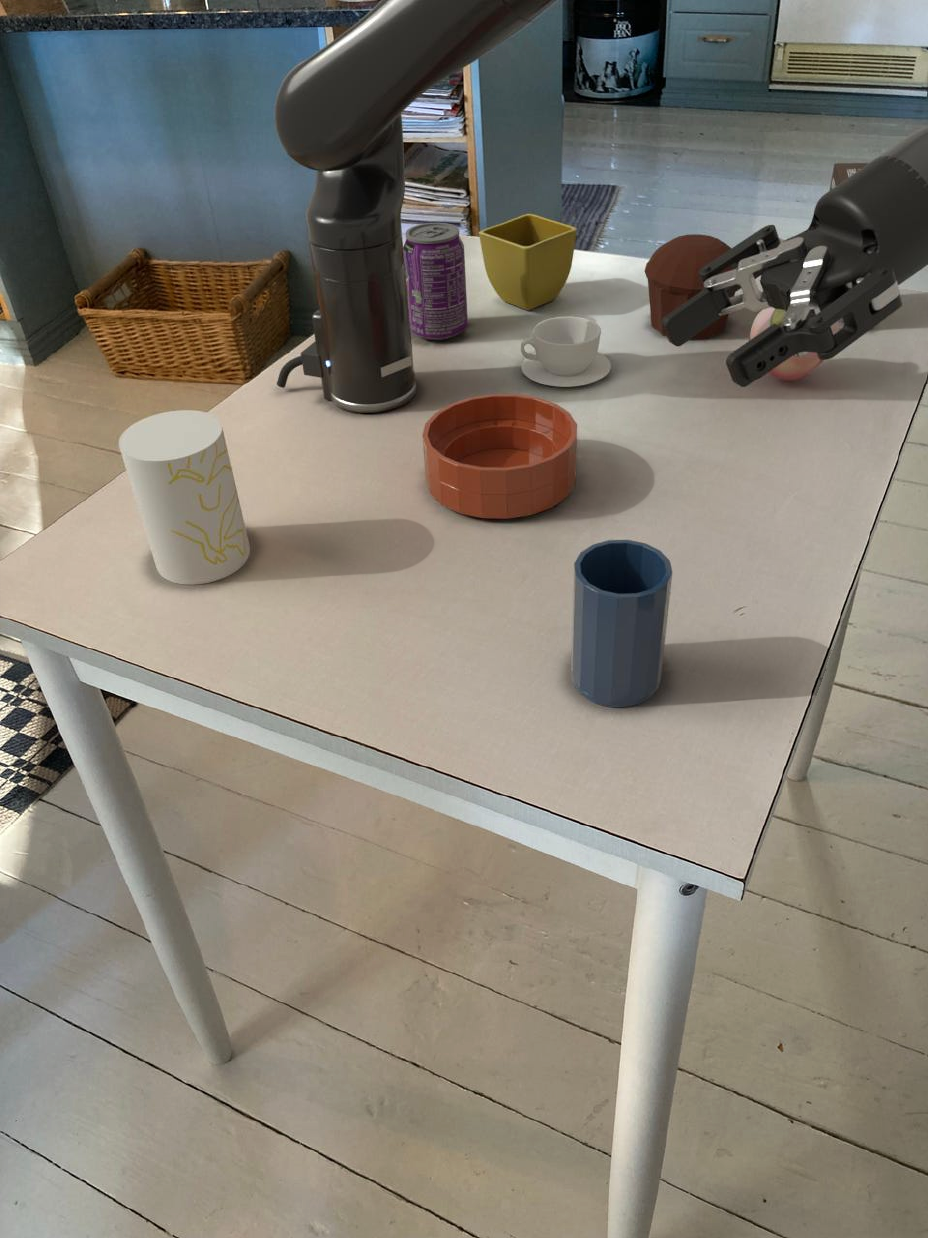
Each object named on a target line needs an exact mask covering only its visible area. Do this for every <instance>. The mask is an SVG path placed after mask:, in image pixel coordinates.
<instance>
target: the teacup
mask: <svg viewBox="0 0 928 1238" xmlns="http://www.w3.org/2000/svg"><path fill="white" fill-rule="evenodd" d="M601 334H602V328H601V326H600V325H599V324H598V323H597V322H596V321H593V320H591V319H588V318H584V317H581V316H580V317H579V316H557V317H551V318H548V319H544V320H542V321H540V322H538V323H537V324H536V325H535V326H534V327H533V329H532V337H526V338H524V339H522V340H521V342H520V353H521V354H522V356H523V358H524V359H523V360H522V363H521V366H520V368H521V373H523V375H524V376H525V377H527V378H528V379H529V380H531V381H533V382H536V383H538V384H542V385H546V386H550V387H551V386H552V387H560V388H561V387H563V388H564V387H579V386H584V385H589V384H593V383H595V382H598V381H600V380H602V379H603V378H605V377H606V376H607V375H608V374H609V373H610V371H611V369H612V363H611V360H609V358H608V357H606V356H605V355H604V354H603V353H600V352H599V351H598V350H599V347H600V346H599V345H600V340H601ZM526 345H530V346H532V347H533V349H534V352H533V353H529V352H527V351H526V350H525V346H526Z"/></svg>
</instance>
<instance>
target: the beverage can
mask: <svg viewBox="0 0 928 1238" xmlns="http://www.w3.org/2000/svg"><path fill="white" fill-rule="evenodd" d="M403 251H404V262H405V273H406V285H407V296H408V308H409V319H410V331H411V334H413V335H415V336H418V337H420V338H422V339H425V340H429V341H445V340H449V339H451V338H454V337H456V336H457V335H459V334H462V333H463V332H464V331H466V329H468V326H469V323H468V322H469V320H468V319H469V318H468V302H467V301H468V299H467V279H466V278H467V277H466V257H465V255H466V254H465V244H464V242H463V241H462V238H461V237H460V228H459V227H458V226H456V225H454V224H452V223H447V222H425V223H420V224H417V225H414V226H411V227H409V228H408V229H406V231H405V242H404V243H403Z"/></svg>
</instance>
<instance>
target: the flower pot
mask: <svg viewBox="0 0 928 1238" xmlns="http://www.w3.org/2000/svg"><path fill="white" fill-rule="evenodd" d="M577 232H578V228H577V227H574V226H572V225H569V224H565V223H562V222H559V221H556V220H553V219H549V218H547V217H543V216H540V215H537V214H534V213H533V214H532V213H526V214H522V215H520V216H518V217H515V218H512V219H509V220H507V221H505V222H502V223H499V224H496V225H493V226H490V227H488V228H484V229H482V230H480V231H479V232H478V236H479V242H480V247H481V254H482V259H483V265H484V269H485V272H486V276H487V278H488V281H489V283H490V284H491V286H492V288H493V290H494V291H495V293H496V294H497V295H498V298H500V300H501V301H502V302H505V303H507V304H510V305H513V306H516V307H517V308H521V309H523V310H525V311H530V310H534V309H536V308H538V307H540V306H542V305H545V304H547V303H549V302H551V301H554V300H556V299H557V297H558V296H559V294H560V293H561V291H562V290H563V288H564V287H565V284H566V283H567V280H568V278H569V276H570V273H571V269H572V265H573V261H574V260H573V259H574V254H575V253H574V252H575V245H576V239H577Z"/></svg>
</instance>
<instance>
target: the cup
mask: <svg viewBox="0 0 928 1238" xmlns="http://www.w3.org/2000/svg"><path fill="white" fill-rule="evenodd" d="M118 447H119V451H120V454H121V457H122V461H123V464H124V466H125V470H126V473H127V476H128V479H129V480H128V481H129V483H130V487H131V490H132V493H133V496H134V500H135V502H136V503H135V504H136V507H137V509H138V512H139V515H140V519H141V522H142V525H143V529H144V532H145V536H146V539H147V541H148V545H149V548H150V552H151V555H152V558H153V561H154V565H155V567H156V568H155V569H156V570H157V572H158V574H159V575H160V576H161V577H162V578H163V579H165V580H166V581H168V582H171V583H174V584H178V585H179V584H180V585H186V586H187V585H189V586H192V585H193V586H195V585H203V584H210V583H213V582H216V581H219V580H222V579H225V578H226V577H228V576H231V575H232V574H234V573H235V572H236V571H238V570H240V569H241V568H242V567H243V566H244V565H245V563H246V562H247V561H248V559H249V556H250V554H251V545H250V542H249V537H248V533H247V529H246V524H245V520H244V517H243V511H242V508H241V503H240V498H239V494H238V490H237V485H236V480H235V476H234V473H233V467H232V463H231V458H230V455H229V449H228V446H227V442H226V436H225V433H224V428H223V424H222V423H221V421H220V419H219V418H218V417H216V416H215V415H213V414H211V413H208V412H205V411H202V410H193V409H192V410H191V409H179V410H170V411H164V412H160V413H156V414H152V415H150V416H147V417H145V418H143V419H140V420H139V421H136V422H135V423H133V424H131V425H130V426H129V427H128V428H126V429H125V430H124V431H123V432H122V434H121V435H120V437H119V439H118Z"/></svg>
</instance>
